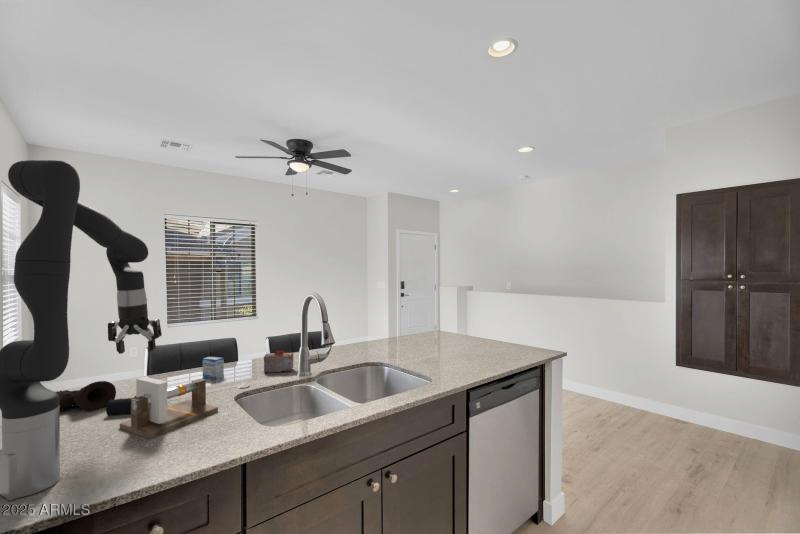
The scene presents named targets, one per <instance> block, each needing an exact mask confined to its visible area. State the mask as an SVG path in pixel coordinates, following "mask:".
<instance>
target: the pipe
mask: <svg viewBox="0 0 800 534" xmlns="http://www.w3.org/2000/svg"><path fill="white" fill-rule="evenodd" d="M55 392H56V393H57V394H58V395H59V405H60V412H62V411H64V410H68V409H70V408H71V407H77V406H79V407H80V408H81V409H83V410H84V411H88V412H89V411H91V412H92V411H94V410H95V411H100V410H102V409H106V407H107V404H108V402H109V401H110V400H114V399H116V396H117V389H116V386H115V385H114V384H113V382H112V383H111V382H110V381H106V380H99V381H94V382H91V383H89V384H87V385H86V386H83V387H81V388H80V389H79V390H78V389H76V390H75V389H74V390H67V389H66V390H59V391H55ZM95 411H94V412H95Z"/></svg>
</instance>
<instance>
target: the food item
mask: <svg viewBox="0 0 800 534" xmlns="http://www.w3.org/2000/svg"><path fill="white" fill-rule="evenodd" d="M294 358H295V357H294V353H293V352H284V350H280V349H279V350H276V351H275V352H274V353H273V352H272V353H266V354H264V356H263V373H264V372H272V373H275V372H279V373H282V372H281V371H288V372H290V371H291V370H292V369H294V361H295V360H294Z"/></svg>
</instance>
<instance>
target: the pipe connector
mask: <svg viewBox="0 0 800 534" xmlns="http://www.w3.org/2000/svg"><path fill="white" fill-rule="evenodd" d="M133 398H136V395H135V396H134V397H128V398H115V399H114V400H110V401H109V402H108V404H107V407H105V412H106V415H107V416H115V415H127V414H128V415H129V414H131V399H133Z"/></svg>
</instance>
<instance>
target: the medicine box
mask: <svg viewBox="0 0 800 534" xmlns="http://www.w3.org/2000/svg"><path fill="white" fill-rule="evenodd" d="M224 359H225V358H224V357H219V356H218V357H217V356H207V357H204V358H202V378H203V379H212V378H218V379H220V378H219V377H221V376H223V377H224V375H225V374H224V373H225V372H224V371H225V370H224V369H225V368H224V366H225V365H224V364H225V362H224V361H225V360H224ZM221 378H222V377H221Z"/></svg>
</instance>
